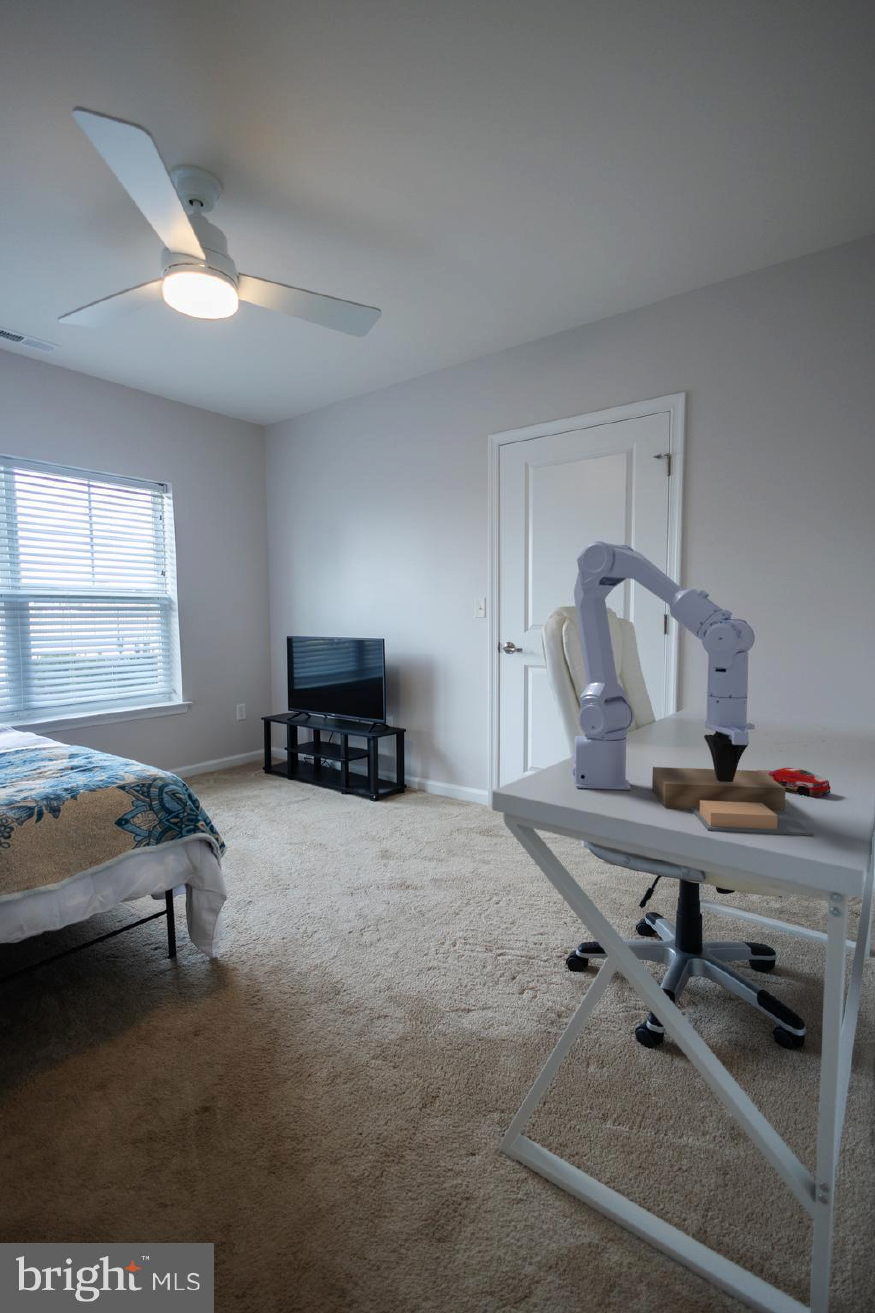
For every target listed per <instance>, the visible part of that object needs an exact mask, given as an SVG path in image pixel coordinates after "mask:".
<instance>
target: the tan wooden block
mask: <svg viewBox="0 0 875 1313" xmlns="http://www.w3.org/2000/svg"><path fill="white" fill-rule="evenodd" d="M700 814H701V815H702V817H703V818H704V819H705V820H706V821H707V822H708V824H709V825H710V826H719V827H740V828H760V829H777V815H776V814H775V813H774V812H772V811H771V810H770V809H769V808H767V807H766V806H765V805H764V804H763V803H749V802H725V801H702V800H700Z"/></svg>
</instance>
